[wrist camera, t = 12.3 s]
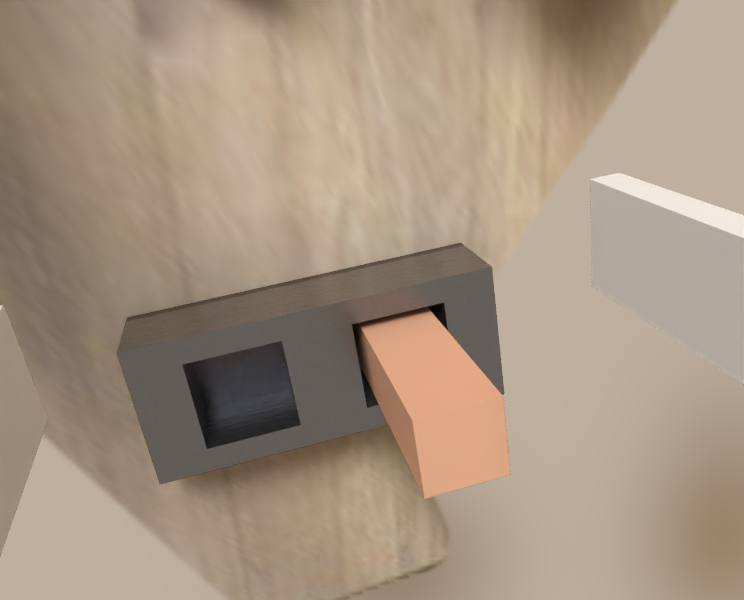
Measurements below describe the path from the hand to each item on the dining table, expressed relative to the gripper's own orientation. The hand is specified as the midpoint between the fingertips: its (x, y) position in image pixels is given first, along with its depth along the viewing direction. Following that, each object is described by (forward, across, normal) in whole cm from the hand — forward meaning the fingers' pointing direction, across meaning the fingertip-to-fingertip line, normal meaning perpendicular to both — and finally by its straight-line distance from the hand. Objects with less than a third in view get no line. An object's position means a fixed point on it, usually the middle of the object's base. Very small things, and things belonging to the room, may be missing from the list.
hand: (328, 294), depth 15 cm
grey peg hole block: (+24, +1, -13) cm, 27 cm away
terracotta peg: (+23, +6, -13) cm, 27 cm away
